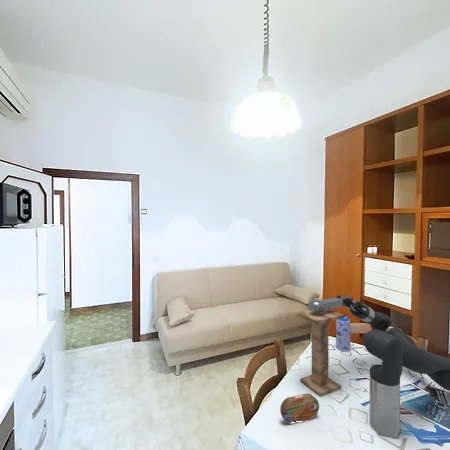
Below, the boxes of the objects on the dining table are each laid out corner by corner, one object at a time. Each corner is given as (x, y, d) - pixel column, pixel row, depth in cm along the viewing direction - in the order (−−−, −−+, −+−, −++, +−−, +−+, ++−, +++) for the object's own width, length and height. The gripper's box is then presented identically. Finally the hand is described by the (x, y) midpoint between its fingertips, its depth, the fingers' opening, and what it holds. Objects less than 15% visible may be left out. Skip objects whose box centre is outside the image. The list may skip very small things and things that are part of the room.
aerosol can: (332, 346, 158) (333, 312, 158) (345, 345, 159) (345, 311, 159) (340, 352, 150) (340, 316, 150) (353, 351, 152) (353, 315, 152)
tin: (283, 426, 96) (283, 403, 96) (279, 420, 99) (279, 397, 99) (319, 418, 100) (319, 395, 100) (314, 412, 103) (314, 390, 103)
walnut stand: (322, 374, 129) (322, 307, 129) (343, 387, 118) (343, 315, 118) (296, 383, 122) (296, 312, 122) (316, 398, 111) (316, 321, 111)
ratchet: (344, 301, 131) (344, 291, 131) (354, 304, 126) (354, 294, 126) (306, 308, 120) (306, 297, 120) (316, 312, 115) (316, 301, 115)
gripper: (373, 324, 125) (351, 310, 119) (347, 314, 138) (326, 301, 131) (378, 308, 127) (357, 294, 120) (352, 301, 140) (331, 287, 133)
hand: (341, 298), depth 126 cm, fingers closed on ratchet, 4 cm apart
